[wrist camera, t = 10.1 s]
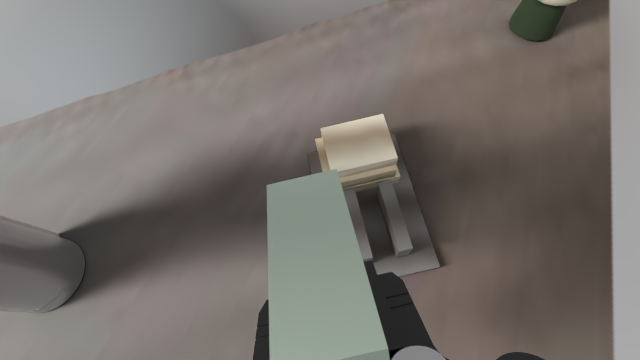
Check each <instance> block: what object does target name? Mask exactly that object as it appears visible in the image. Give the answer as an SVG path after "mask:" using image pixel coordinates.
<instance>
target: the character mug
mask: <svg viewBox="0 0 640 360" xmlns="http://www.w3.org/2000/svg"><path fill="white" fill-rule="evenodd" d="M576 1H577V0H522V2H521V3H520V4H519V6H518V7H517V9H516V11H515V12H514V14H513V15H512V17H511V19H510V22H509V25H510V29H511V30H512V31H513V32H514V33H516V34H517V35H519V36H521V37H523V38H525V39H529V40H534V41H538V40H545V39H547V38H548V37H550V36H551V35H552V34H553V32H554V30H555V28H556V26H557V24H558V22H559V20H560V18H561V16H562V14H563V12H564V9H565V7H566V5H568V4H571V3H574V2H576Z"/></svg>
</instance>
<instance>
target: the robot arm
mask: <svg viewBox="0 0 640 360" xmlns="http://www.w3.org/2000/svg"><path fill="white" fill-rule="evenodd" d="M364 266H365V269H366V273H367V276H368V280H369V283H370V287H371V290H372V294H373V297H374V301H375V304H376V308H377V311H378V315H379V318H380V322H381V325H382V329H383V332H384V335H385V339H386V342H387V346H388V351H389V358H390V360H449V359H447V358H445V357H444V356H443V355H441V354H440V353H439V352H438V351H437V349H436V348H435V347H434V345H433V343H432V341H431V339H430V337H429V335H428V333H427V331H426V328H425V326H424V324H423V322H422V320H421V318H420V316H419V314H418V311H417V309H416V307H415V305H414V304H413V301H412V299H411V297H410V295H409V293H408V290H407V288H406V286H405V284H404V282H403V280H402V279H400V278H399V277H398V276H397V275H395V274H394V273H393V272H388V273H383V274H379V275H377V272H376V269H375V267H374V264H373V262H372V260H368V261H364ZM84 269H85V258H84V255H83V252H82V250H81V248H80V247H79V246H78V245H77V244H76V243H74V242H72V241H70V240H67V239H64V238H61V237H60V236H59V234H58V233H54V232H51V231H48V230H45V229H42V228H38V227H35V226H32V225H29V224H25V223H22V222H19V221H16V220H13V219H9V218H6V217H3V216H0V311H6V312H29V313H43V312H48V311H51V310H53V309H55V308H57V307H59V306H60V305H62V304H63V303H65V302H66V301H67V300H68V299H69V298H70V297H71V296H72V295H73V293H74V292H75V291H76V290H77V288H78V286H79V284H80V282H81V280H82V277H83V274H84ZM257 328H258V329H257V332H256V341H255V347H254V355H253V360H270V347H269V300H267V301H266V302H265V304H264V306H263V307H262V309H261V311H260V312H259V317H258V324H257ZM497 360H544V359H542V358H540V357H538V356H535V355H532V354H528V353H522V352H513V353H507V354H504V355H502V356H500V357H499V358H498V359H497Z"/></svg>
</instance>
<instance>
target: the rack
mask: <svg viewBox="0 0 640 360" xmlns="http://www.w3.org/2000/svg"><path fill="white" fill-rule="evenodd" d="M320 129H321V134H322V138H318V139H315V141H316V145H317V150H318V151H315V152H311V153H307V156H308V161H309V166H310V170H311V175H312V174H316V173H321V172H325V171H329V170H333V169H337V172H338V175H339V179H340V182H341V186H342V189H343V192H344V196H345V199H346V203H347V206H348V210H349V213H350V217H351V220H352V224H353V227H354V231H355V234H356V238H357V241H358V245H359V248H360V252H361V255H362V259H363V262H364V261H368V260H372V262H373V264H374V267H375V269H376V272H377V275H379V274H383V273H388V272H393V273H394V274H395V275H397V276H398V277H402V276H406V275H411V274H415V273H419V272H424V271H428V270H433V269H437V268H439V267H440V264H439V262H438V259H437V256H436V253H435V250H434V247H433V244H432V241H431V238H430V236H429V233H428V230H427V227H426V224H425V221H424V218H423V215H422V212H421V209H420V207H419V204H418V201H417V198H416V195H415V192H414V189H413V186H412V183H411V181H410V178H409V175H408V172H407V169H406V166H405V163H404V160H403V157H402V154H401V152H400V149H399V146H398V143H397V140H396V137H395V134H394V133H393V134H390V133H389V130H388V127H387V124H386V121H385V118H384V115H383V114H380V115H376V116H372V117H367V118H363V119H359V120H354V121H350V122H346V123H342V124H337V125H333V126H329V127H325V128H320Z"/></svg>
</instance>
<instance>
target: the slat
mask: <svg viewBox="0 0 640 360" xmlns="http://www.w3.org/2000/svg"><path fill="white" fill-rule="evenodd" d="M267 235H268V291H269V347H270V360H390V358H389V351H388V346H387V342H386V339H385V335H384V332H383V329H382V325H381V322H380V318H379V315H378V311H377V308H376V304H375V301H374V297H373V294H372V290H371V287H370V283H369V280H368V276H367V273H366V269H365V266H364V262H363V259H362V255H361V252H360V248H359V245H358V241H357V238H356V234H355V231H354V227H353V224H352V220H351V217H350V213H349V210H348V206H347V203H346V199H345V196H344V192H343V189H342V186H341V182H340V179H339V175H338V172H337V169H333V170H329V171H325V172H321V173H316V174H312V175H308V176H303V177H299V178H295V179H290V180H286V181H282V182H278V183H273V184H269V185H267Z"/></svg>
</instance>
